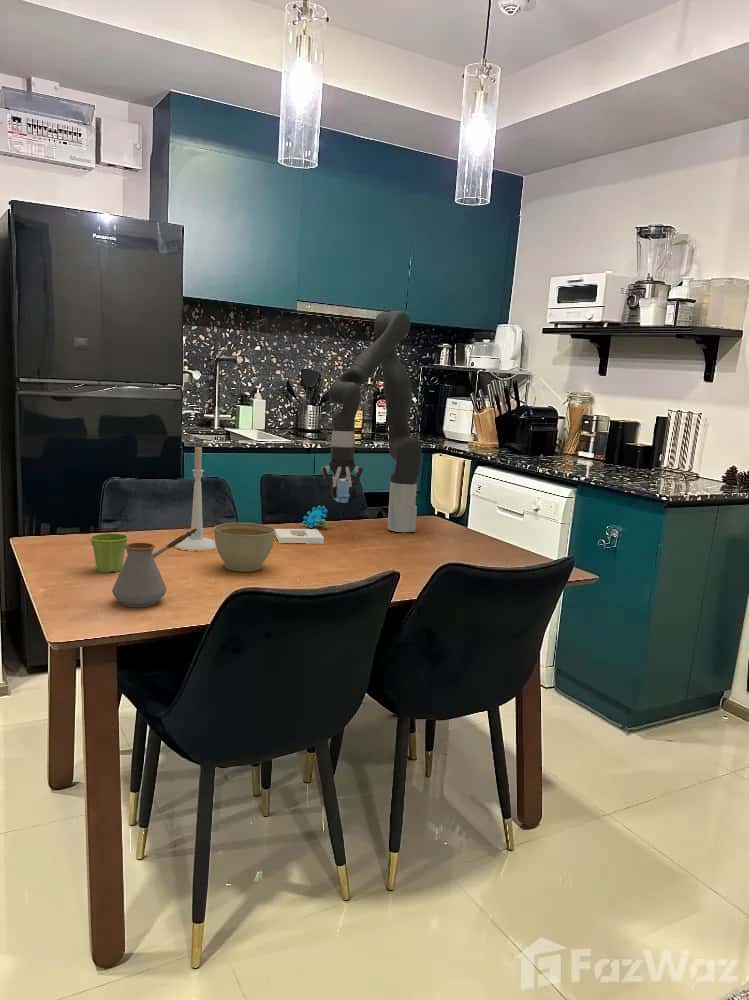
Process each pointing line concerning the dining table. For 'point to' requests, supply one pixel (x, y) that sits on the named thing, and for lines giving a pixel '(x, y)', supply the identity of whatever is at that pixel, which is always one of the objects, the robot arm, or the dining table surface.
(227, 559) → the planter bowl
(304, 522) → the blue coral
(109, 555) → the plant pot
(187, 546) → the candlestick
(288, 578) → the dining table surface
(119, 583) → the coffee pot
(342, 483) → the servo
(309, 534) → the chassis board
